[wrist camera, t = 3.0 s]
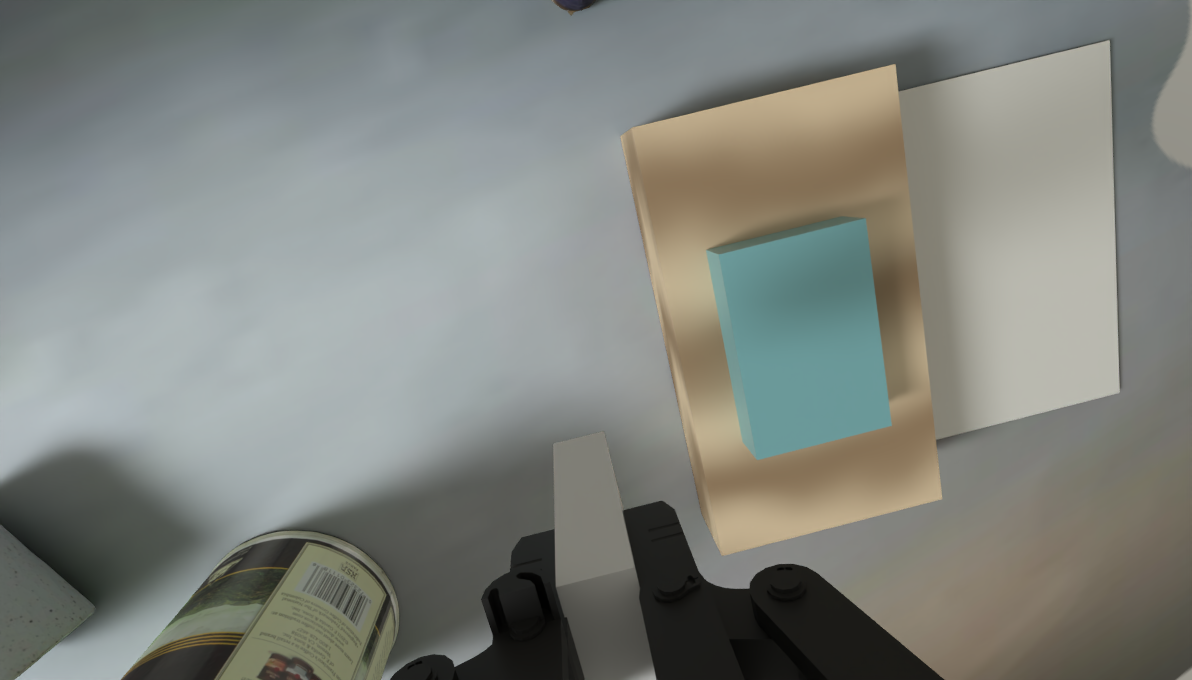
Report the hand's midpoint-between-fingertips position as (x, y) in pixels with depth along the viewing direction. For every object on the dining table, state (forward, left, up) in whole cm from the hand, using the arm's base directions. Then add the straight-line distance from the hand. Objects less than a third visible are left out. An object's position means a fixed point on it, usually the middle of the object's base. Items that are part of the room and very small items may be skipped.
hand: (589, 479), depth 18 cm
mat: (0, -22, -14) cm, 26 cm away
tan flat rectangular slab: (0, -10, -14) cm, 17 cm away
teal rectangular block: (0, -10, -10) cm, 14 cm away
